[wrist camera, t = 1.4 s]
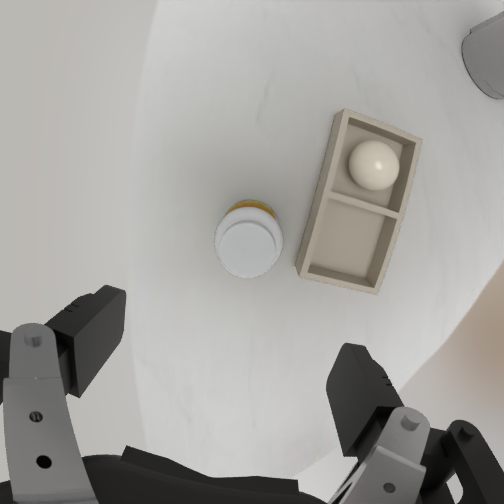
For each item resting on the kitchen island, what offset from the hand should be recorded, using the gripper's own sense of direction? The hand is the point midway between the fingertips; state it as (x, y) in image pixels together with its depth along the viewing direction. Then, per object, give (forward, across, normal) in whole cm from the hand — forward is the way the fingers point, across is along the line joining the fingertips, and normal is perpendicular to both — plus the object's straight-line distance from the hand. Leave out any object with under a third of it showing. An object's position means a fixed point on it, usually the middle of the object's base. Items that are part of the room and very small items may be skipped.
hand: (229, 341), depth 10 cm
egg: (+20, -10, -9) cm, 24 cm away
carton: (+21, -10, -6) cm, 24 cm away
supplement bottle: (+21, 0, 0) cm, 21 cm away
